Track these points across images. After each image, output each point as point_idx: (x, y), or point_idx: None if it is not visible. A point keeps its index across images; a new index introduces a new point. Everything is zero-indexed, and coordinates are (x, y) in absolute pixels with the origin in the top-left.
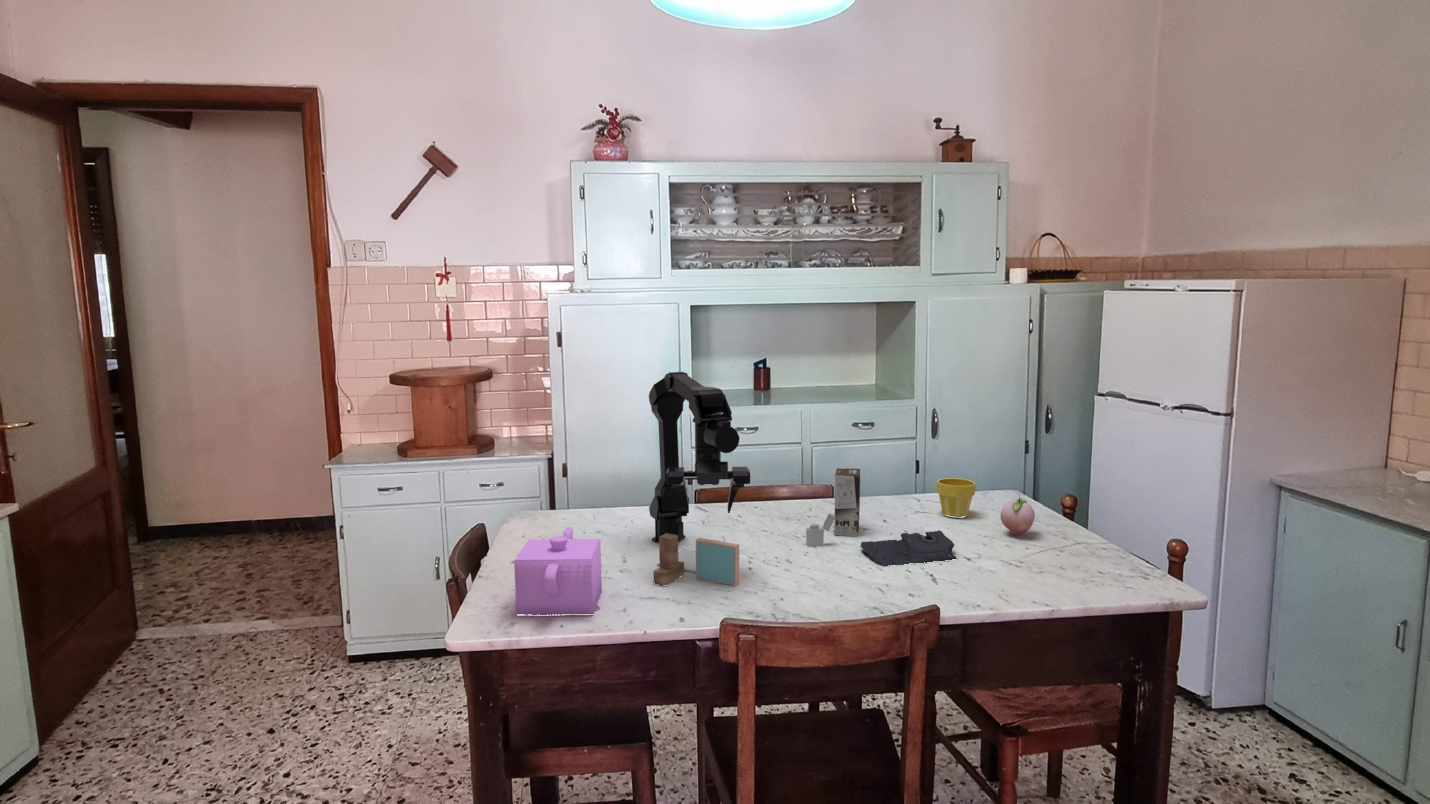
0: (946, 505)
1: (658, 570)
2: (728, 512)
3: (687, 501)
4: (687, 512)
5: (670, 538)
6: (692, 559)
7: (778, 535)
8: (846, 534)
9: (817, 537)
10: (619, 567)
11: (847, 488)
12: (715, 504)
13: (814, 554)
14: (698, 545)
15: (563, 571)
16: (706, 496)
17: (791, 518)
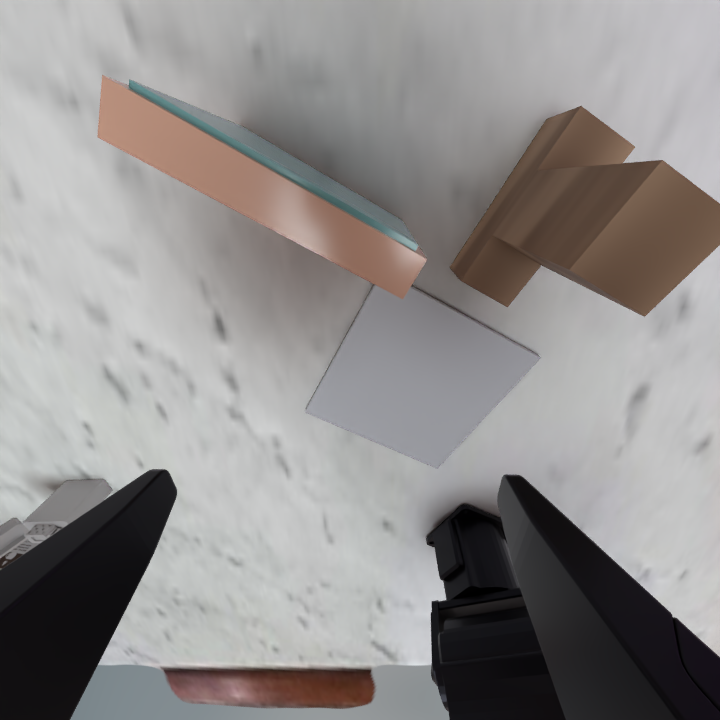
0: None
1: (605, 156)
2: (159, 471)
3: (589, 591)
4: (520, 478)
5: (661, 172)
6: (413, 392)
7: (196, 539)
8: None
9: (59, 500)
10: (677, 343)
11: None
12: (356, 663)
13: (63, 430)
14: (405, 236)
15: None
16: (374, 687)
17: (192, 607)
